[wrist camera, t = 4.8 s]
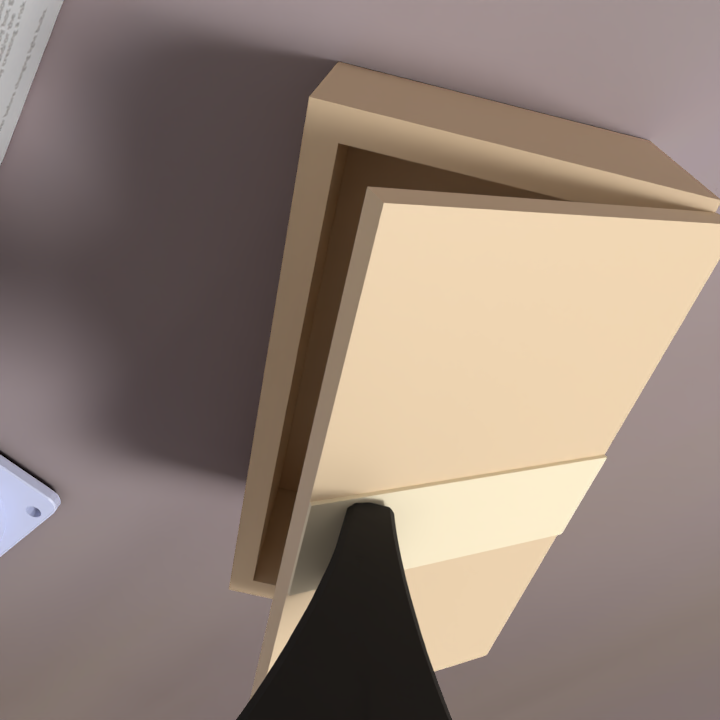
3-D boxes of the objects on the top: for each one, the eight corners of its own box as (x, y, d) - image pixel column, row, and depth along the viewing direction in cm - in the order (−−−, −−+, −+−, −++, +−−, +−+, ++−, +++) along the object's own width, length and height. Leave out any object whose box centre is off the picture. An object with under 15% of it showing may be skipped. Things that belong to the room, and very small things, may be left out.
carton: (467, 531, 21) (474, 642, 17) (261, 485, 20) (228, 589, 17) (649, 140, 14) (721, 201, 10) (338, 61, 13) (308, 96, 10)
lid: (477, 638, 17) (488, 657, 17) (248, 706, 15) (254, 731, 14) (714, 212, 10) (743, 226, 10) (367, 186, 8) (386, 205, 7)
